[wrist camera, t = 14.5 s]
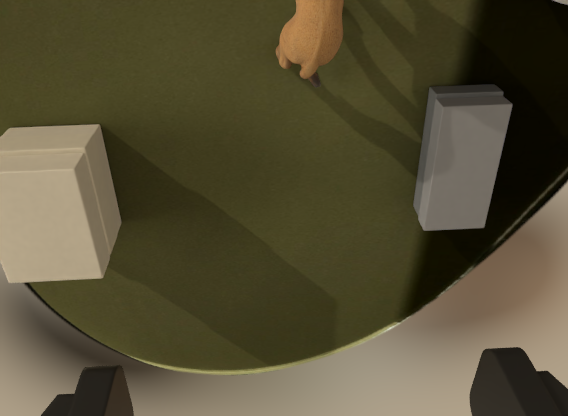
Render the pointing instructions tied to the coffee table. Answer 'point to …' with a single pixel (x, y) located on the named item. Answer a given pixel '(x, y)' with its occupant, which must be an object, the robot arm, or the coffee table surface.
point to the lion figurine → (311, 36)
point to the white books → (72, 142)
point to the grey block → (460, 155)
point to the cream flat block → (50, 219)
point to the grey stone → (562, 1)
